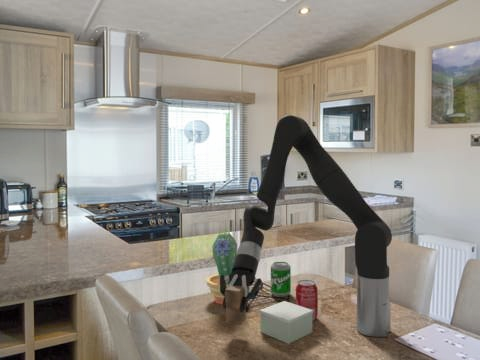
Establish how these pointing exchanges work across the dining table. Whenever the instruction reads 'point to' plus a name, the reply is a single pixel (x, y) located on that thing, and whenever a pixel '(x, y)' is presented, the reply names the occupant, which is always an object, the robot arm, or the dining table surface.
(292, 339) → the storage box
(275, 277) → the soda can
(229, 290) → the walnut block
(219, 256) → the potted cactus
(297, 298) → the soda can
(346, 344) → the dining table surface
